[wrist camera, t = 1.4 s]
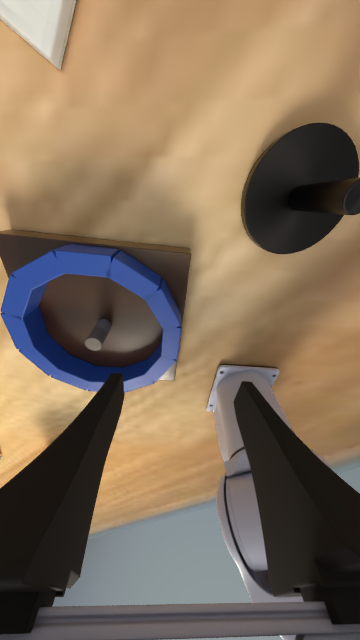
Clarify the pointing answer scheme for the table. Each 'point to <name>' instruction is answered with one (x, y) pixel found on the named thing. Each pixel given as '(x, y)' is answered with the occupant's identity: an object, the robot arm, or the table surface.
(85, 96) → the table surface
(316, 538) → the robot arm
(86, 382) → the ring
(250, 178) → the post
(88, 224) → the table surface
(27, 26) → the hard drive
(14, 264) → the platform
